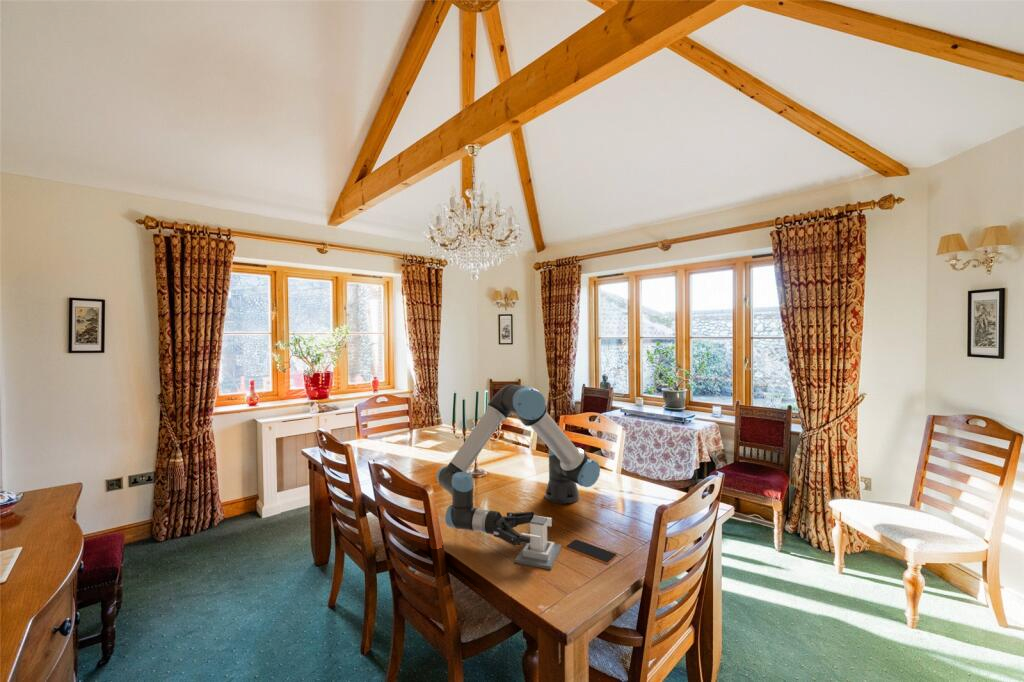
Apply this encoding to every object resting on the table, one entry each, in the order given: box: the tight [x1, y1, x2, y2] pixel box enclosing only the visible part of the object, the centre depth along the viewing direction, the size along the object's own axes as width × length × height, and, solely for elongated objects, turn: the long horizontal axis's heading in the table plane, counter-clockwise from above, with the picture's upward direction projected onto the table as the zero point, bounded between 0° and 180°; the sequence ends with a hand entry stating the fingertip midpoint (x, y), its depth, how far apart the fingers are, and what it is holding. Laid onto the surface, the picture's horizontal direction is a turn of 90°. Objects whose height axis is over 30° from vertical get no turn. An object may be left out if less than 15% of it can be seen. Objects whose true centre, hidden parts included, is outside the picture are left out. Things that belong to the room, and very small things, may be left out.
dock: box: [514, 540, 562, 570], centre depth 140 cm, size 14×12×3 cm
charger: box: [529, 515, 548, 553], centre depth 140 cm, size 4×4×11 cm
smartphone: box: [564, 538, 619, 565], centre depth 142 cm, size 8×17×1 cm, turn 50°
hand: (546, 531), depth 139 cm, fingers open, 13 cm apart
